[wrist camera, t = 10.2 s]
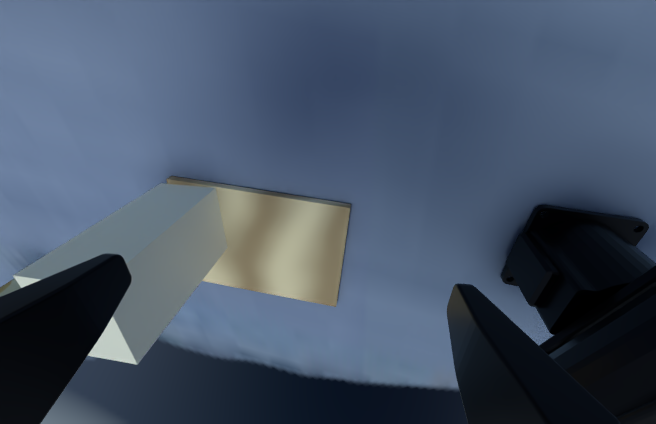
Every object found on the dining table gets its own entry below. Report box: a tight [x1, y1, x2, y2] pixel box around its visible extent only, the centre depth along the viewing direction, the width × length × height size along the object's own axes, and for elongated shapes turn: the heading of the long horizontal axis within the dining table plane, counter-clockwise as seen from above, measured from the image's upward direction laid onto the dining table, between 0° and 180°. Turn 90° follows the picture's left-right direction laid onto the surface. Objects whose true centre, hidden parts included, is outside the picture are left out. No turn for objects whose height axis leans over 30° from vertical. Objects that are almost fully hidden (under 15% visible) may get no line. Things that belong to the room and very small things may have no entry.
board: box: [167, 176, 351, 307], centre depth 24 cm, size 14×10×1 cm
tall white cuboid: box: [13, 183, 228, 364], centre depth 19 cm, size 4×6×10 cm
